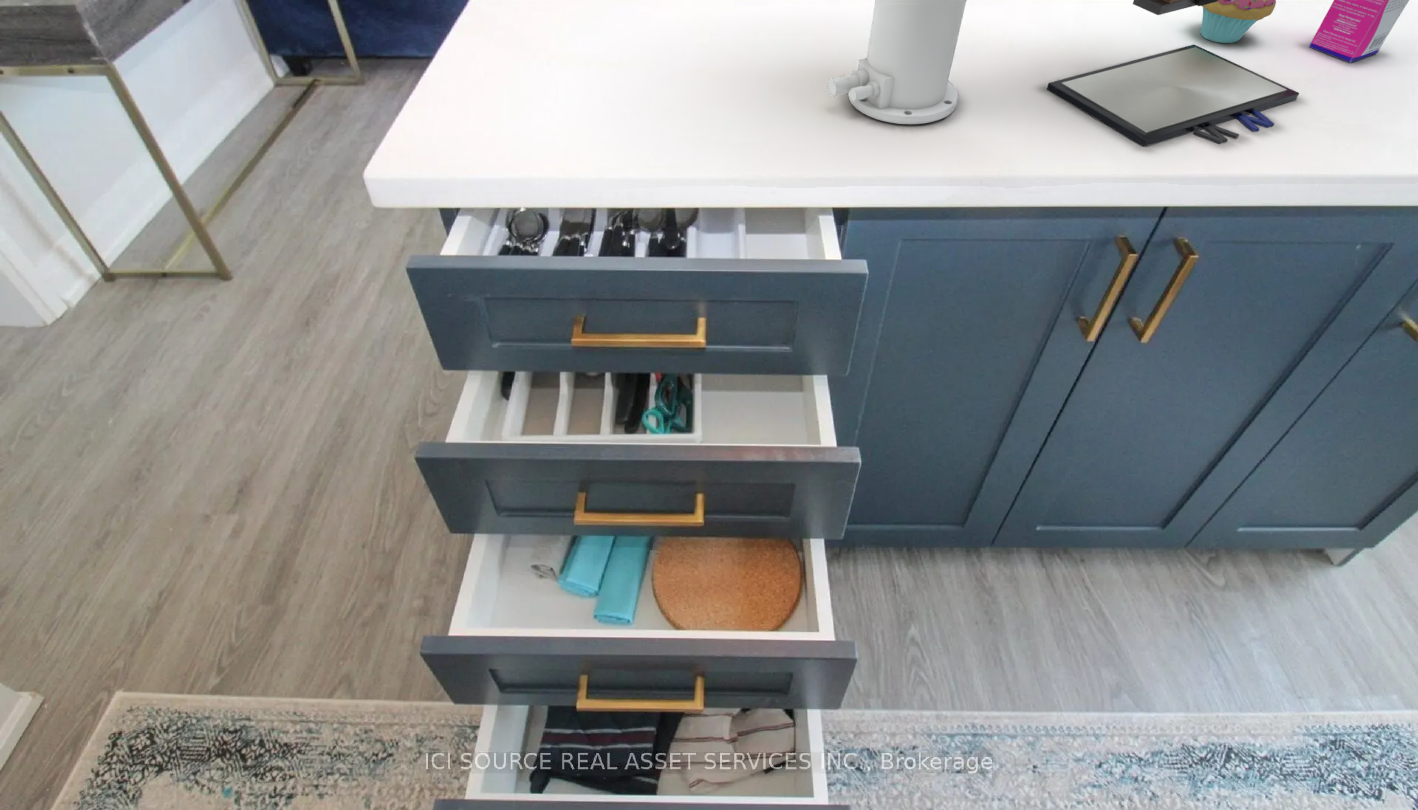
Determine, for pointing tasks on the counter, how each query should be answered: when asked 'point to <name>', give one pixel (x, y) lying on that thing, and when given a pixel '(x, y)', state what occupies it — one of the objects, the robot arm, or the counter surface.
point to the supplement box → (1356, 27)
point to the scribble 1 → (1216, 134)
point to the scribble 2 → (1255, 120)
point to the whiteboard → (1170, 93)
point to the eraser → (1163, 5)
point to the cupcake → (1232, 18)
